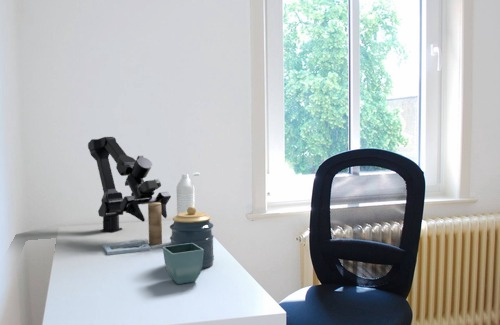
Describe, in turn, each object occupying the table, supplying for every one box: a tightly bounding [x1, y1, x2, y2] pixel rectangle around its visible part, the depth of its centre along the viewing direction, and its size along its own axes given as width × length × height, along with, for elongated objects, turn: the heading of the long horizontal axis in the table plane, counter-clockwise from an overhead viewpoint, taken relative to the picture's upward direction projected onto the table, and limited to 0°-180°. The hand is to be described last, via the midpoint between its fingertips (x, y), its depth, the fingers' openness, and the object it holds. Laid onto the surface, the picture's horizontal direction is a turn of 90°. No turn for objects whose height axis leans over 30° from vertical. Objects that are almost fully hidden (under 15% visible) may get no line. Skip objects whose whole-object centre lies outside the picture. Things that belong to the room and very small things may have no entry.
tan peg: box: [147, 203, 163, 246], centre depth 169 cm, size 5×5×14 cm
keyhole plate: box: [103, 240, 152, 256], centre depth 161 cm, size 14×11×1 cm
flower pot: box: [162, 243, 204, 285], centre depth 125 cm, size 9×9×9 cm
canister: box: [169, 206, 215, 270], centre depth 141 cm, size 13×13×18 cm
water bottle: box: [176, 172, 201, 215], centre depth 171 cm, size 9×6×25 cm
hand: (155, 219), depth 169 cm, fingers open, 9 cm apart
